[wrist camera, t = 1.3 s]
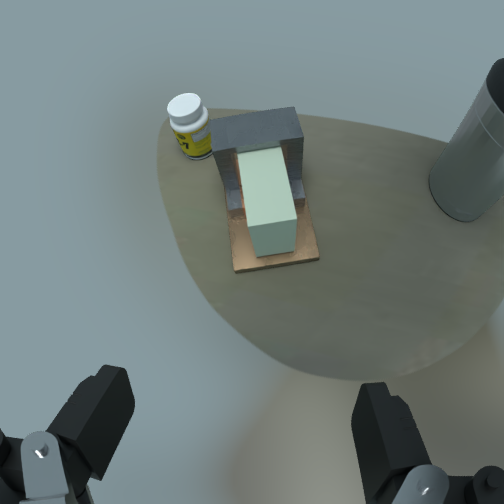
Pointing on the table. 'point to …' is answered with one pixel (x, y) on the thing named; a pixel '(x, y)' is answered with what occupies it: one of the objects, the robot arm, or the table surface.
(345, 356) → the table surface
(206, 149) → the supplement bottle
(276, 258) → the base
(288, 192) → the mint green block
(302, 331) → the table surface
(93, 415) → the robot arm
